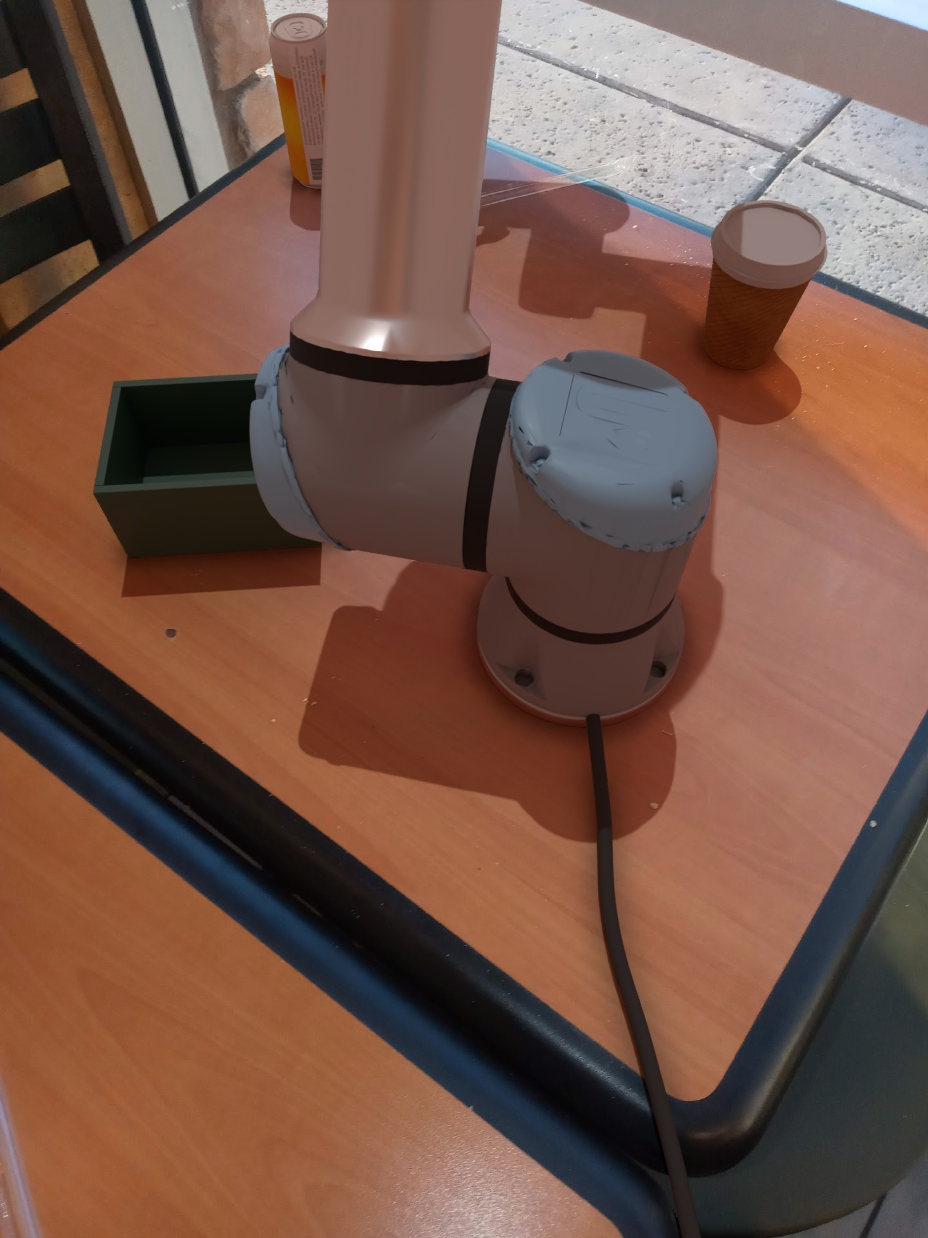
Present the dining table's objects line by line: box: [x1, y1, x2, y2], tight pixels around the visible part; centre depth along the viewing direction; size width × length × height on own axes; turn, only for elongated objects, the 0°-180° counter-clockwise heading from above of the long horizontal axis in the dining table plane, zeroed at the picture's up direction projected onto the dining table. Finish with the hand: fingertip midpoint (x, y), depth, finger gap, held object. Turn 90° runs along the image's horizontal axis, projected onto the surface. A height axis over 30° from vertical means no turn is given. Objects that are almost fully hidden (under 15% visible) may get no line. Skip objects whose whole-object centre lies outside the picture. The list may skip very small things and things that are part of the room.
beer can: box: [268, 12, 327, 190], centre depth 93 cm, size 6×6×15 cm
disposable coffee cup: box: [702, 199, 829, 370], centre depth 79 cm, size 10×10×12 cm
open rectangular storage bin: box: [92, 372, 323, 558], centre depth 72 cm, size 11×15×8 cm
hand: (364, 32), depth 89 cm, fingers open, 13 cm apart
